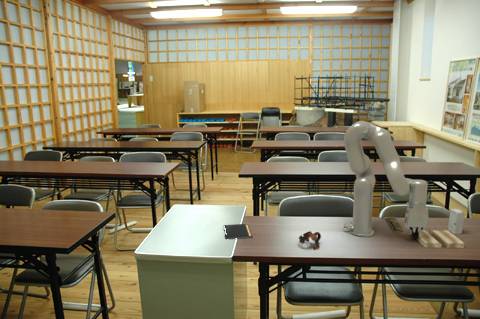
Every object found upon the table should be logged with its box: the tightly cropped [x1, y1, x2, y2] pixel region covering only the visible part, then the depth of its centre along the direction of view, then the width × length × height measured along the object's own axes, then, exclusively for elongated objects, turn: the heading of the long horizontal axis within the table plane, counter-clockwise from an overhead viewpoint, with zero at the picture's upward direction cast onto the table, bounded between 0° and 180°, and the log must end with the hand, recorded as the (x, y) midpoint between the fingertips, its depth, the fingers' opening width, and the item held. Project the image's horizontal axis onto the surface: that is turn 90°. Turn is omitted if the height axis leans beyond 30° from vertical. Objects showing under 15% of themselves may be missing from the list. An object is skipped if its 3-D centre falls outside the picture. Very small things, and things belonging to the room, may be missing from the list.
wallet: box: [223, 223, 254, 240], centre depth 195 cm, size 20×2×15 cm
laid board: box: [429, 229, 466, 249], centre depth 179 cm, size 9×16×2 cm, turn 176°
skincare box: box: [447, 208, 466, 235], centre depth 189 cm, size 6×4×12 cm
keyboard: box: [381, 216, 405, 233], centre depth 202 cm, size 22×9×2 cm, turn 169°
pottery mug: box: [298, 230, 322, 250], centre depth 177 cm, size 12×10×8 cm
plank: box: [417, 229, 443, 249], centre depth 179 cm, size 8×16×2 cm, turn 176°
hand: (414, 238), depth 180 cm, fingers closed
